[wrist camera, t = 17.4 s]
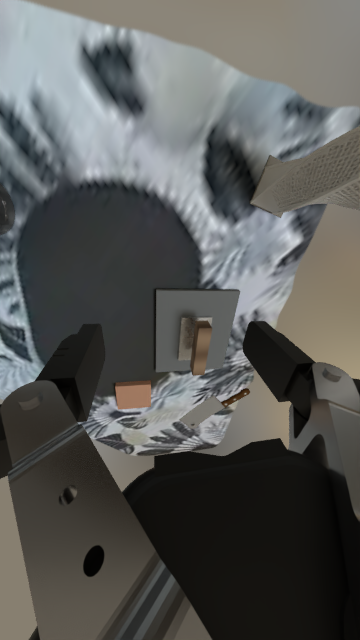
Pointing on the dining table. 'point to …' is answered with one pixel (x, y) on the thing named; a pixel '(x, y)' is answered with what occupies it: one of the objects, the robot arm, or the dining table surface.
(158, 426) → the dining table surface
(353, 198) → the skyscraper
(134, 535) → the robot arm
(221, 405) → the kitchen cleaver
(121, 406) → the tile
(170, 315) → the mat
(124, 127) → the dining table surface
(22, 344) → the dining table surface
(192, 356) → the plastering trowel
